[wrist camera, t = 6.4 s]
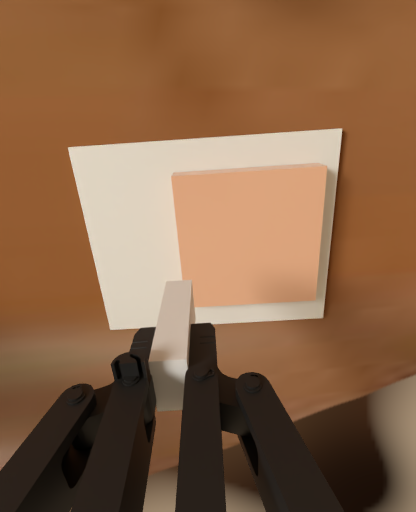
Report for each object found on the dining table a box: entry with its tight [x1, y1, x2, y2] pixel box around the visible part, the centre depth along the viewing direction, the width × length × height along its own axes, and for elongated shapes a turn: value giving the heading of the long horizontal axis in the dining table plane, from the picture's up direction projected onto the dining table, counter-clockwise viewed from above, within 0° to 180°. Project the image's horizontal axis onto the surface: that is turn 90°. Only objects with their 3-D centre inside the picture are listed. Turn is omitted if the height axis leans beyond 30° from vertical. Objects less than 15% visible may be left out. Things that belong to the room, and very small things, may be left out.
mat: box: [68, 129, 342, 330], centre depth 29 cm, size 22×18×1 cm
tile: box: [171, 163, 327, 307], centre depth 27 cm, size 2×12×12 cm
